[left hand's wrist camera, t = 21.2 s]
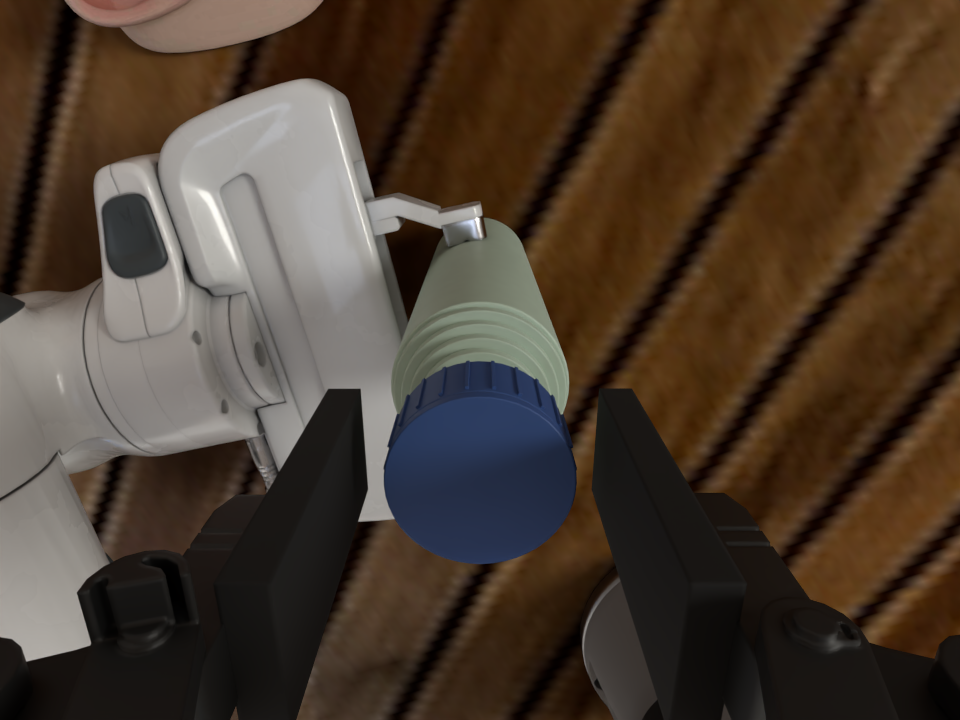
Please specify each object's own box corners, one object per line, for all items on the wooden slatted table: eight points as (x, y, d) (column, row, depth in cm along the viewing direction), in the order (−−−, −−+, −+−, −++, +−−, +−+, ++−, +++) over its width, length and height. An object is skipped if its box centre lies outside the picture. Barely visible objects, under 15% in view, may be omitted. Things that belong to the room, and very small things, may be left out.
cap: (363, 397, 14) (345, 439, 12) (528, 330, 14) (536, 363, 12) (437, 533, 16) (431, 589, 14) (590, 477, 15) (606, 528, 13)
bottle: (475, 326, 35) (468, 602, 15) (414, 259, 34) (312, 459, 13) (544, 269, 34) (644, 480, 13) (485, 197, 33) (494, 309, 12)
